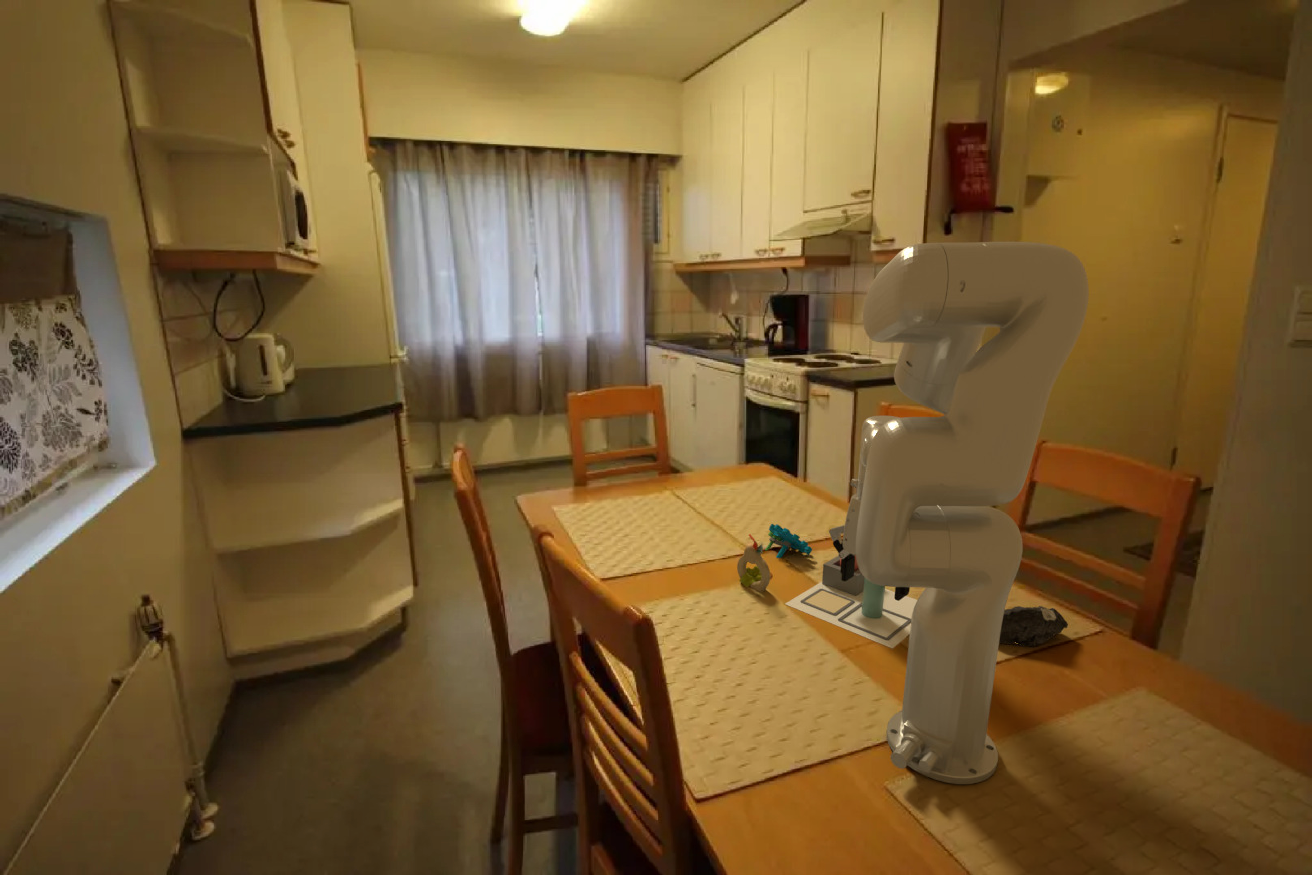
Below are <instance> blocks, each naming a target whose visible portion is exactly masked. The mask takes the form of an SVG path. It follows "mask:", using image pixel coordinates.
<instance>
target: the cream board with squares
mask: <svg viewBox="0 0 1312 875" xmlns="http://www.w3.org/2000/svg"><path fill="white" fill-rule="evenodd" d="M894 596H895V591H892V590H890V589H887V588H885V593H884V603H883V613H882V617H881V618H869V617H866V616H864V615H863V614H862V601H863V592H862V593H860V594H859V595H857V596H854V595H851V594H848V593H846V592H843V591H840V590H838V589H835V588H832V587H829V586H827V585H824V584H822V581H820V582H819V583H817V584H815V585H813V586H812V587H810V588H809V589H807V590H806V591H804V592H802V593H801V594H799V595H797V596H795V597H794V598H792V599H791V600H789V601H787V602H786V603H784V605H785V606H788V607H791V608H793V609H796V610H798V611H801V612H803V613H805V614H807V615H810V616H811V617H815V618H817V619H820V620H822V621H824V622H827V623H830V624H831V625H834V626H836V627H838V628H842V629H843V630H846V631H848V632H851V633H854V634H856V635H859V636H861V637H863V638H866V639H868V640H870V641H872V642H876V643H877V644H879V645H883V646H885V647H887V648H890V649H892V650H893V649H894V648H895V647H896V646H898V645H899V644H900V643H901V642H902V641H903V640H905V639H906V638H907V637H908V636H910V627H911V618H912V613H913V609H914V607H915V604H916V602H917V600H918V599H916V598H912V597H911V596H908V595H907V596H905V597H903V598H902V599H901V600H899V601H897V600H895V599H894Z"/></svg>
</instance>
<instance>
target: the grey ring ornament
mask: <svg viewBox="0 0 1312 875" xmlns="http://www.w3.org/2000/svg"><path fill="white" fill-rule="evenodd" d="M748 536H749V538H750V539H751V540H752V542H753V544H751V545H748V546H746V547H745V549H744V550H743V551H744V552H743V555H742V556H740V557H739V559H738V561H737V564H736V568H737V574H738V577H739V578H740V579H739V582H740V583H741V584H742V585H743V586H744V587H746V588H751V589H753V590H756V591H758V592H762V593H763V592H765V591H766V589H767V587H768V586H769V584H770V581H771V579H772V578H773V573H772V572H771V570H770V567H769V565H768V563H767V562H766V560H765V559H764V558H763V556H762V555H761V554H763V552H764V550H763V549H764V548H763V542H760V544H759V545H758V542H757V541H756V540H755V539H754V537H753V536H752V535H751V534H750V533H749V534H748ZM748 563H749V564H752V565H755V566H753V567H752V568H751V567H749V566H748V567H747V564H748Z"/></svg>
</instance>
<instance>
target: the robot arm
mask: <svg viewBox="0 0 1312 875" xmlns="http://www.w3.org/2000/svg"><path fill="white" fill-rule="evenodd" d="M1088 279H1089V278H1088V275H1087V272H1086V269H1085V266H1084V265H1083V262H1082V261H1081V259H1080V258H1079V257H1078V255H1075V254H1074V253H1073V252H1072V251H1071V250H1068V249H1066V248H1064V247H1060V246H1058V245H1053V244H1048V243H1044V242H1043V243H1042V242H1041V243H1040V242H1033V241H1030V242H1029V241H983V242H982V241H981V242H980V241H977V242H926V243H925V242H924V243H916V244H912V245H909V246H907V247H905V248H904V249H902V250H900V251H899V252H898V253H897V254H896V255H895V256H894V257H893V258H892V259H891V260H890V261H889V262H888V263H887V264H886V265H885V266H884V267H883V268H882V269H881V270H879V272H878V273H877V275H876V276H875V278H874V279H873V280H872V282H871V284H870V285H869V288H868V290H867V294H866V296H865V300H864V304H863V309H862V310H863V311H862V323H863V324H862V325H863V329H864V331H865V334H866V336H867V337H868V338H869V339H870V340H872V341H873V342H876V343H881V344H882V343H883V344H884V343H887V344H888V343H889V344H890V343H891V344H894V343H901V344H902V347H901V349H900V354H899V356H898V359H897V362H896V365H895V369H894V371H893V379H894V384H895V385H896V387H897V388H898V389H899V391H900V392H901V393H902V394H903V395H904V396H905V397H907V398H908V399H910V400H911V401H914V402H915V403H918V404H919V405H922V406H924V407H927V408H928V409H931V410H934V411H936V412H938V413H941V414H943V415H941V416H909V417H908V416H907V417H906V416H905V417H899V416H892V415H873V416H870V417H868V418H866V419H865V420H864V421H863V423H862V425H861V436H860V448H859V449H860V451H859V460H858V461H859V462H858V476H857V478H852V479H851V480H850V486H851V487H854V488H855V489H856V490H855V492H856V493H855V494H853V495H852V496H851V498H850V501H849V505H848V509H847V513H846V517H845V522H844V524H841V525H839V526H834V527H832V528H830V529H829V530H828V532H829V535H830V538H831V541H833V542H832V545H833V547H834V548H835V549H836V550H835V551H837V553H838V555H837V556H839V558H841V571H840V572H841V574H842V577H841V580H842V581H844V582H845V581H847V580H849V579H850V578H852V577H853V576H854V568H855V556H856V559H857V564H858V567H859V569H860V571H861V573H862V575H863V576H864V577H865V578H866V579H867V580H868V581H870V582H872V583H874V584H877V585H881V586H885V587H890V588H891V587H892V588H894V592H895V596H894V599H895V600H897V601H899V600H901V599H902V598H903V597H905V596H908V595H909V593H910V588H924V589H923V591H922V593H921V594H920V595H919V597H918V598H917V599H916V600H917V602H916V604H915V607H914V609H913V613H912V618H911V627H910V634H909V638H908V649H907V657H906V669H905V678H904V688H903V689H904V690H903V698H902V706H901V707H902V710H900V711H898V712H896V713H894V714H893V715H892V717H890V719H889V721H888V722H887V727H886V740H887V743H888V746H889V748H890V749H891V751H892V753H891V754H890V761H891V763H892V764H893V765H894V766H895V767H896V768H898V769H905V768H906V767H909V768H910V769H912V770H914V771H915V772H916V773H919V774H921V775H923V776H925V777H927V778H930V779H932V780H935V781H939V782H943V783H947V784H952V785H953V784H954V785H970V784H977V783H980V782H983V781H986V780H988V779H989V778H990V777H992V775H994V773H995V771H996V770H997V766H998V762H999V752H998V749H997V746H996V744H995V743H994V741H993V740H992V738H991V737H990V736H989V734H987V732H988V727H989V726H988V724H989V718H990V711H991V703H992V695H993V689H994V687H993V686H994V681H995V674H996V666H997V659H998V653H999V645H1000V643H999V640H1000V633H1001V626H1002V621H1003V615H1004V610H1005V609H1006V605H1007V602H1008V600H1009V599H1008V598H1009V595H1010V592H1011V589H1012V586H1013V584H1014V582H1015V579H1016V577H1017V574H1018V572H1019V568H1020V565H1021V562H1022V555H1023V538H1022V534H1021V531H1020V529H1019V527H1018V525H1017V523H1016V522H1015V521H1014V519H1013V518H1012V517H1011V516H1010V515H1008V514H1007V513H1005V512H1004V511H1002V510H1000V509H998V508H995V507H992V506H1000V505H1005V504H1007V503H1010V502H1012V501H1014V500H1015V499H1016V498H1017V497H1018V496H1019V494H1020V493H1021V491H1022V490H1023V488H1024V485H1025V482H1026V480H1027V477H1028V474H1029V470H1030V467H1031V465H1032V460H1033V457H1034V453H1035V450H1036V446H1037V442H1038V438H1039V436H1040V433H1041V432H1040V431H1041V428H1042V424H1043V422H1044V418H1045V414H1046V410H1047V406H1048V402H1049V399H1050V395H1051V393H1052V390H1053V387H1054V385H1055V383H1056V380H1057V379H1058V376H1059V375H1060V372H1061V371H1062V369H1063V367H1064V365H1065V363H1066V362H1067V360H1068V358H1069V356H1070V354H1071V353H1072V351H1073V349H1074V347H1075V345H1076V343H1077V341H1078V339H1079V336H1080V334H1081V332H1082V329H1083V327H1084V326H1083V325H1084V322H1085V319H1086V316H1087V312H1088V305H1089V281H1088ZM987 328H999V332H998V333H997V334H996V335H994V336H993V337H991V338H990V339H989V340H988V341H987V342H985V343H984V344H983V345H982V346H980V344H981V341H982V339H983V336H984V334H985V332H986V330H987ZM979 346H980V347H979ZM841 535H843V536H841Z"/></svg>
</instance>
